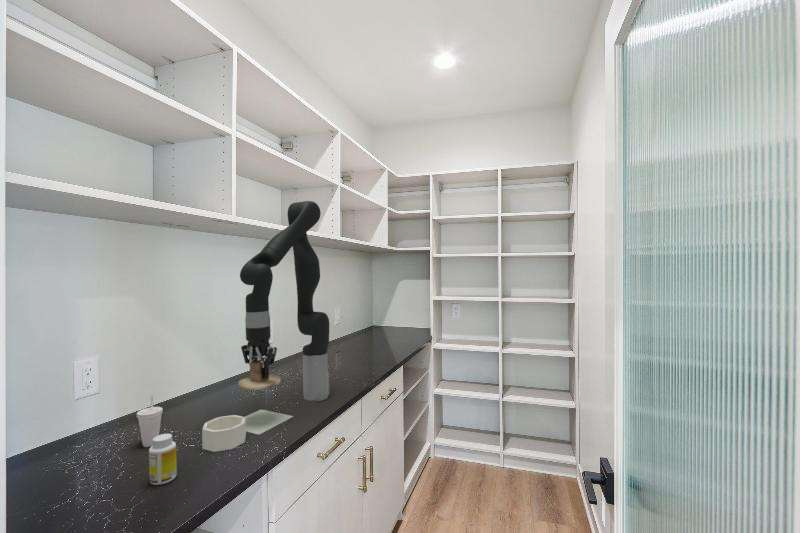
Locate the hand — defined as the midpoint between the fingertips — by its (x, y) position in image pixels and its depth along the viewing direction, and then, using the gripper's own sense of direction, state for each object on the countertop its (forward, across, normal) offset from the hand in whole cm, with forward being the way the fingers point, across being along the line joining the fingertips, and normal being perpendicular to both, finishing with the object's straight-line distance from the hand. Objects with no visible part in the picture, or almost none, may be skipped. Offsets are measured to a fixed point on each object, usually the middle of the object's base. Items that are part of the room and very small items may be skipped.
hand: (259, 377), depth 123 cm
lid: (+2, 0, 0) cm, 2 cm away
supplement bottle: (+14, -4, +34) cm, 38 cm away
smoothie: (+15, +18, +24) cm, 34 cm away
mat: (+15, 0, 0) cm, 15 cm away
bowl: (+15, -2, +16) cm, 21 cm away
